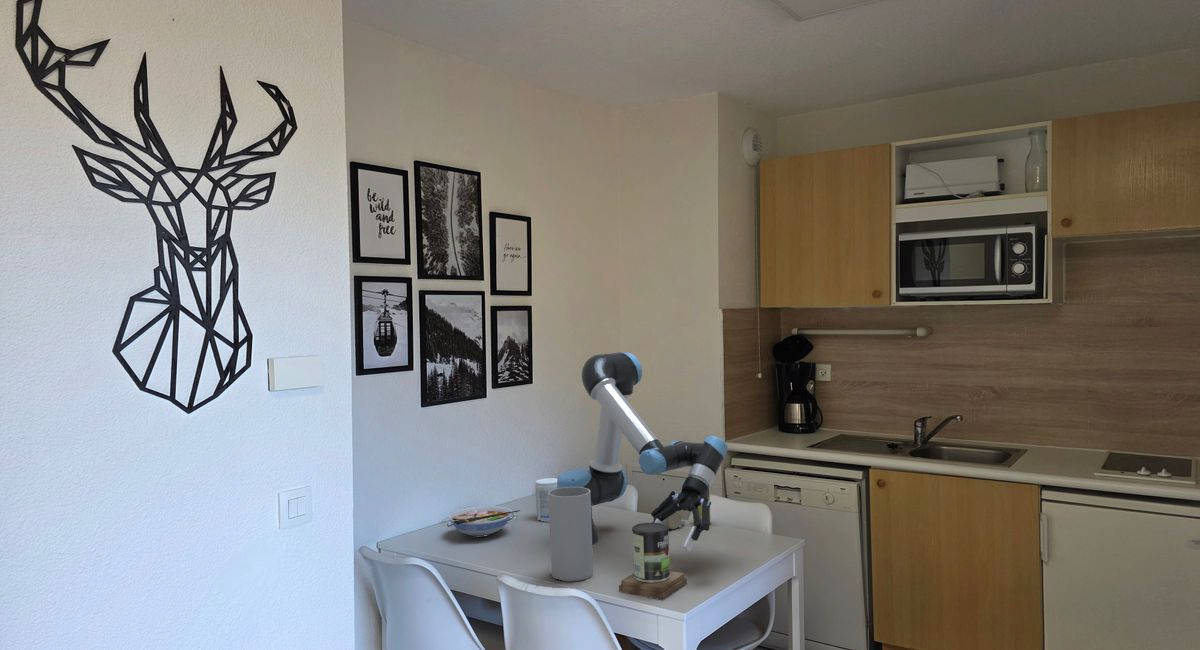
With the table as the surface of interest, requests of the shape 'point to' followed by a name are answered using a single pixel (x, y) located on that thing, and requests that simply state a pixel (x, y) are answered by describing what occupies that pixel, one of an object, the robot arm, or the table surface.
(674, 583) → the walnut plinth
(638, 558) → the coffee can
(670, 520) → the ceramic mug
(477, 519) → the ramen bowl
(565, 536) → the cylinder vase
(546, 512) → the supplement tub
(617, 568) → the table surface
